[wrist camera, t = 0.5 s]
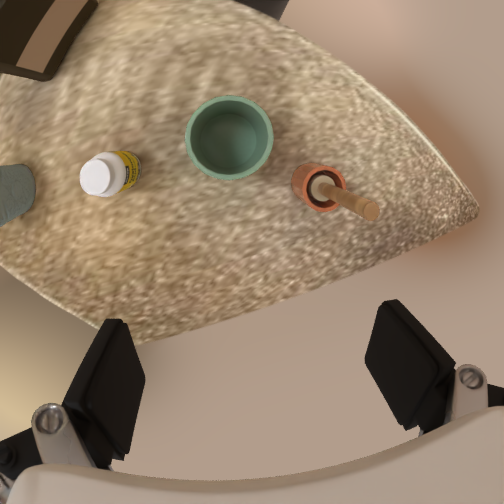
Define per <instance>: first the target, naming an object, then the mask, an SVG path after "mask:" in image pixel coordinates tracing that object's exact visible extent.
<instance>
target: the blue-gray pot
mask: <svg viewBox="0 0 504 504" xmlns="http://www.w3.org/2000/svg"><path fill="white" fill-rule="evenodd" d="M34 198H35V180H34V177H33V174H32V172H31V171H30V169H29V168H28V167H27V166H25V165H22V164H15V165H6V166H0V227H1V226H3V225H4V224H5V223H6V222H9V221H11V220H12V219H14V218H16V217H17V216H19V215H21V214H23V213H25V212H27V211H28V210H29V208H30V207H31V206H32V204H33V201H34Z"/></svg>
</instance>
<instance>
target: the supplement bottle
mask: <svg viewBox="0 0 504 504" xmlns="http://www.w3.org/2000/svg"><path fill="white" fill-rule="evenodd" d="M140 174H141V165H140V162H139V159H138V158H137V157H136V156H135V155H134V154H133V153H131V152H128V151H111V152H102V153H99V154H97V155H96V156H94V157H93V158H92V159H91V160H90V161H88V162H87V163H85V165H84V166H83V167H82V169H81V172H80V184H81V186H82V188H83V190H84V191H85V192H86V193H88V194H90V195H97V196H100V197H109V196H112V195H114V194H117V193H119V192H121V191H124V190H126V189H128V188H130V187H132V186H133V185H134V184H135V183H136V182H137V181H138V179H139V177H140Z"/></svg>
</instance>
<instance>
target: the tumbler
mask: <svg viewBox="0 0 504 504" xmlns="http://www.w3.org/2000/svg"><path fill="white" fill-rule="evenodd" d="M273 139H274V135H273V129H272V124H271V122H270V120H269V118H268V116H267V114H266V112H265V111H264V110H263V109H262V108H261V107H259V106H258V105H257V104H256V103H255V102H253V101H251V100H249V99H246V98H244V97H241V96H233V95H226V96H220V97H215V98H213V99H211V100H209V101H207V102H205V103H203V104H202V105H201V106H200V107H199V108H198V109H197V110H196V111H195V112H194V113H193V114H192V116H191V118H190V120H189V122H188V124H187V127H186V134H185V143H186V149H187V152H188V155H189V157H190V158H191V160H192V162H193V163H194V165H195V166H196V167H198V168H199V169H200V170H201V171H202V172H203V173H205V174H207V175H209V176H211V177H214V178H217V179H223V180H234V179H240V178H244V177H246V176H248V175H250V174H252V173H254V172H256V171H257V170H258V169H259V168H260V167H261V166H262V165H263V164H264V163H265V162H266V160H267V158H268V156H269V154H270V152H271V150H272V145H273Z"/></svg>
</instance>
